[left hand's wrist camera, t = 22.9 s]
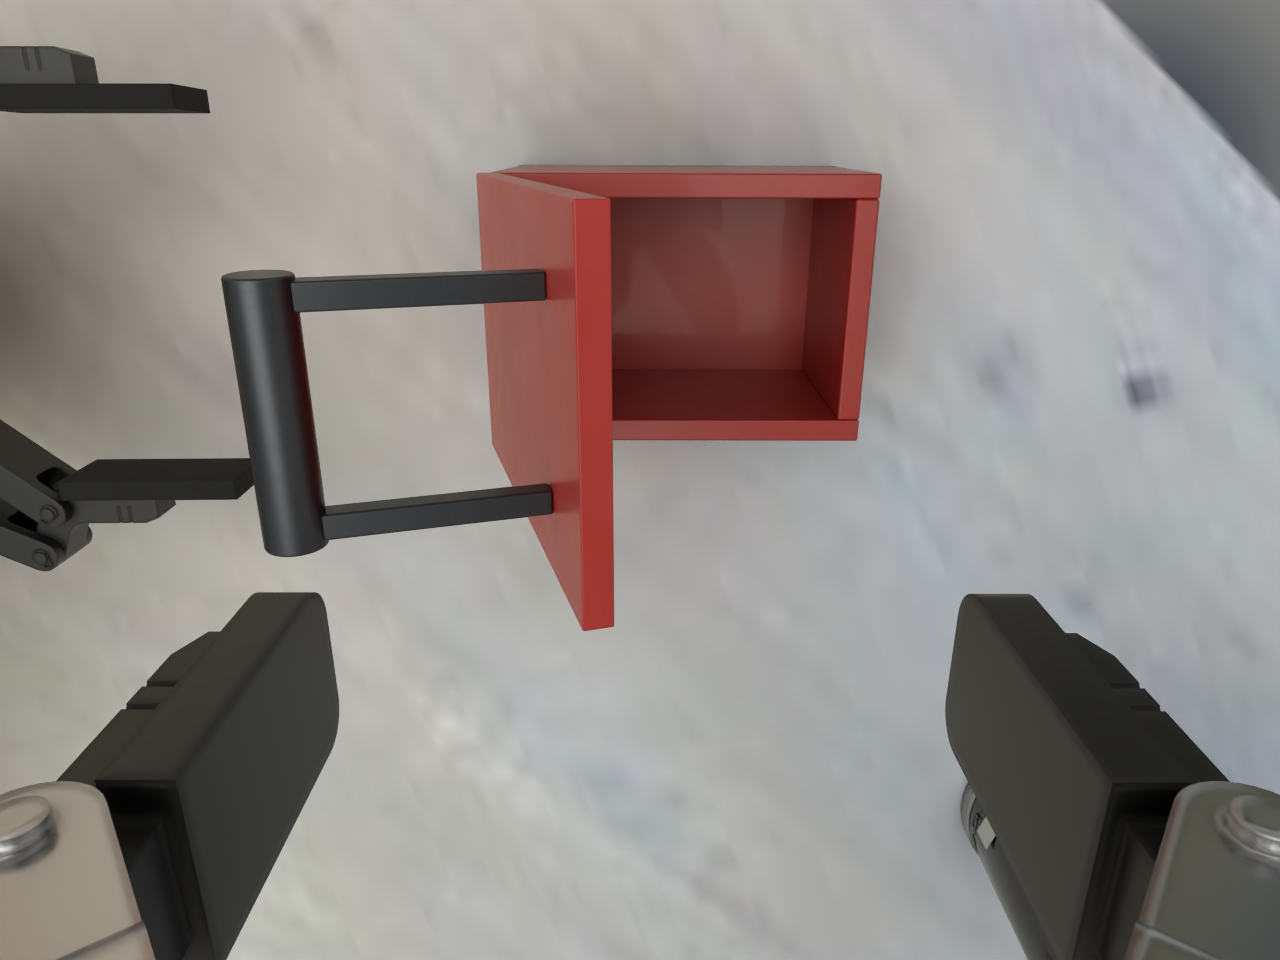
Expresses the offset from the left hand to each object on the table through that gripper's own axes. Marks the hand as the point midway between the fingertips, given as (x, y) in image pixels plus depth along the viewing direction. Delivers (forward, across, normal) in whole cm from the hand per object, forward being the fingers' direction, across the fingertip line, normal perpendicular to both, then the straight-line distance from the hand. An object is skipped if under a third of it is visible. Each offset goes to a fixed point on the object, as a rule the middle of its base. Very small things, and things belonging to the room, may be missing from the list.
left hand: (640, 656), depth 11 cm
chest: (+34, -2, 0) cm, 34 cm away
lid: (+17, +3, 0) cm, 17 cm away
